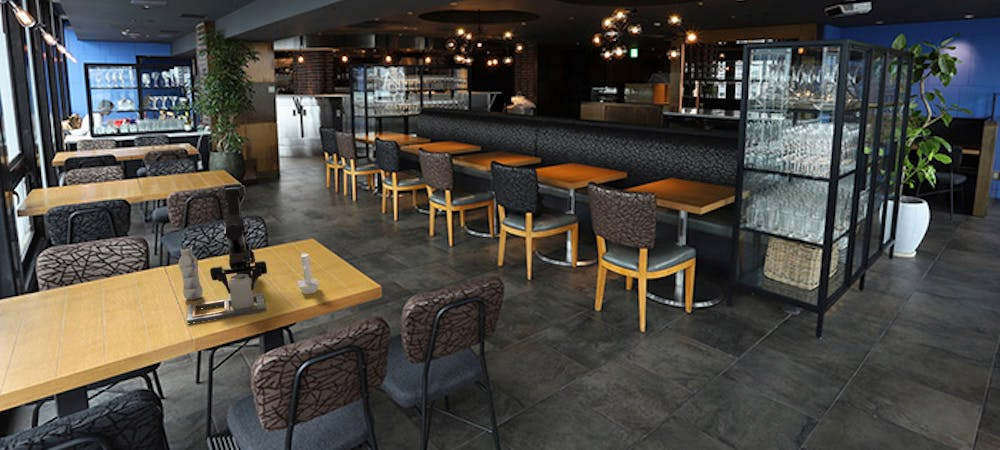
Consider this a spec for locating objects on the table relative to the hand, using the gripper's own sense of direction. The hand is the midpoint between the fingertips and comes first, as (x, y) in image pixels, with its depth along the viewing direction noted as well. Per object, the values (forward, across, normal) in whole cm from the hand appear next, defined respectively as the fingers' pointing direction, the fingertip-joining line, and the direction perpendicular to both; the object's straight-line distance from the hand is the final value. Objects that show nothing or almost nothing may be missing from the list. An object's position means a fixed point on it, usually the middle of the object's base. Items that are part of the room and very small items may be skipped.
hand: (241, 291), depth 215 cm
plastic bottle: (-8, -18, +17) cm, 26 cm away
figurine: (-1, +23, +10) cm, 26 cm away
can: (+4, 0, +6) cm, 7 cm away
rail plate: (+4, -5, +6) cm, 9 cm away
